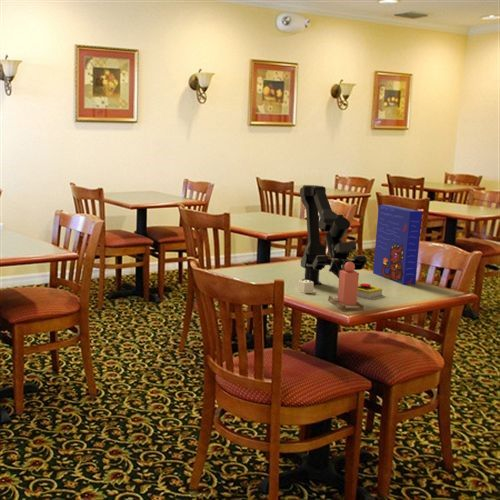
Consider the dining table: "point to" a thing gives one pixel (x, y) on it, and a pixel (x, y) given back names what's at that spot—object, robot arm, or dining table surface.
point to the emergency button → (369, 291)
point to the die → (305, 286)
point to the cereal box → (397, 243)
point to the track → (345, 307)
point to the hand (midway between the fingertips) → (345, 282)
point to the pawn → (348, 285)
